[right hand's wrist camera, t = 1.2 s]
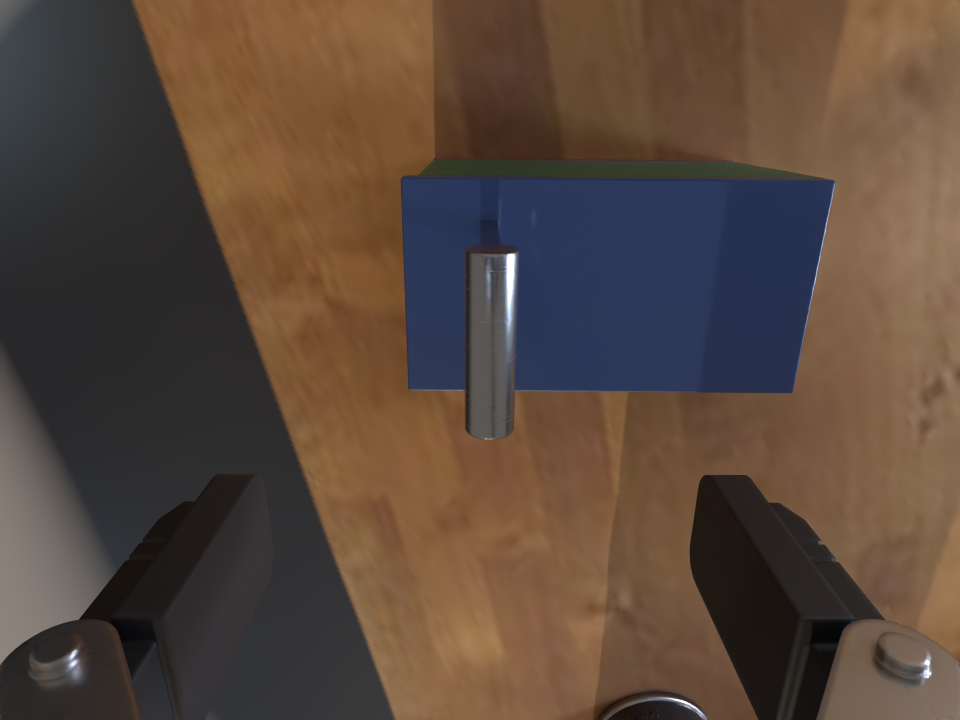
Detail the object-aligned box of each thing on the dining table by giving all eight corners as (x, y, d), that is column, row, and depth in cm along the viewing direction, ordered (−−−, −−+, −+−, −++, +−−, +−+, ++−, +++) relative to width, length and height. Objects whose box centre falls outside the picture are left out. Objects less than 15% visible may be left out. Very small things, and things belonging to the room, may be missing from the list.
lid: (410, 383, 28) (385, 479, 21) (402, 175, 25) (369, 200, 18) (784, 386, 28) (893, 482, 21) (826, 178, 25) (972, 205, 18)
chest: (437, 314, 38) (422, 383, 28) (434, 158, 35) (416, 175, 25) (706, 316, 38) (784, 386, 29) (729, 160, 35) (825, 178, 25)
